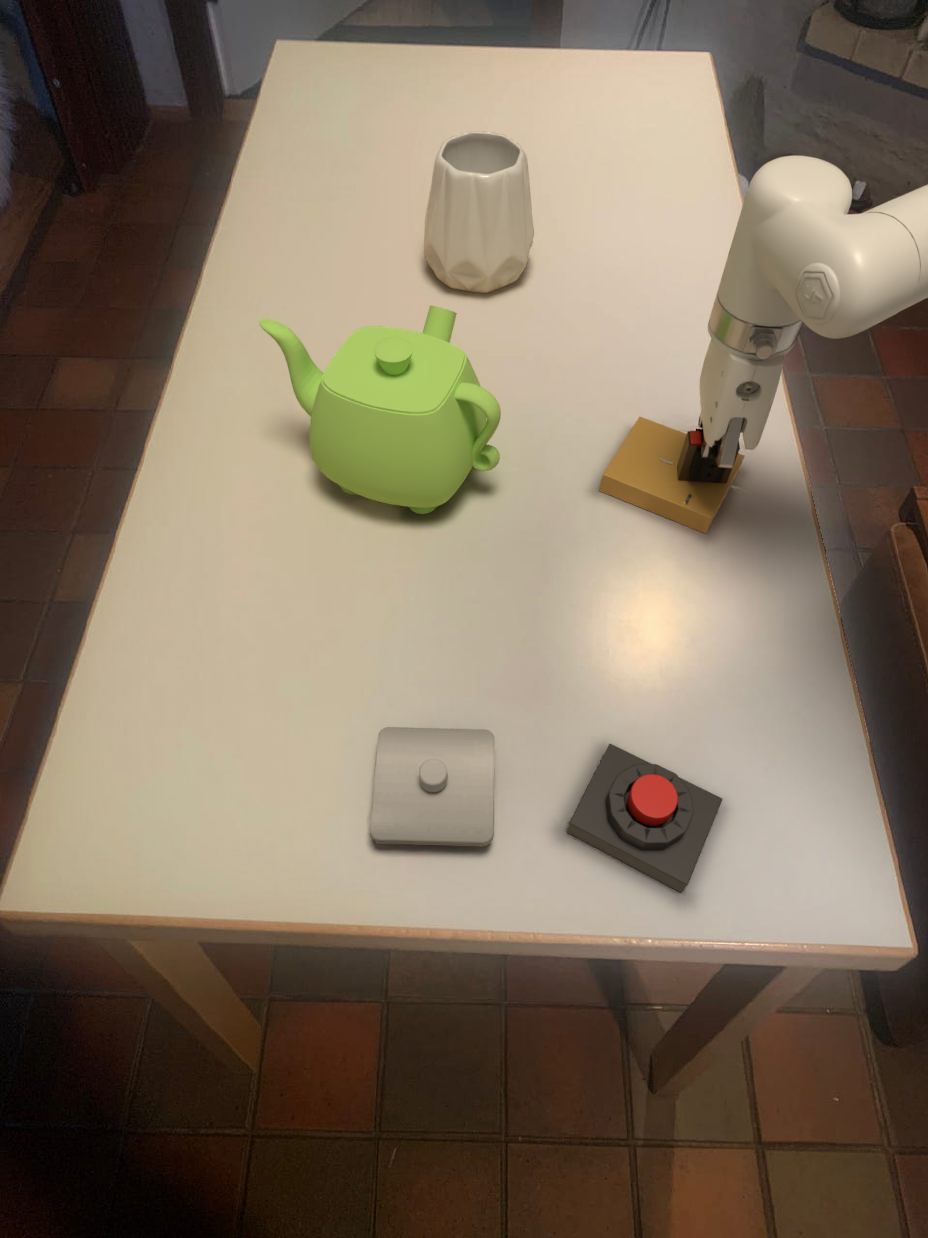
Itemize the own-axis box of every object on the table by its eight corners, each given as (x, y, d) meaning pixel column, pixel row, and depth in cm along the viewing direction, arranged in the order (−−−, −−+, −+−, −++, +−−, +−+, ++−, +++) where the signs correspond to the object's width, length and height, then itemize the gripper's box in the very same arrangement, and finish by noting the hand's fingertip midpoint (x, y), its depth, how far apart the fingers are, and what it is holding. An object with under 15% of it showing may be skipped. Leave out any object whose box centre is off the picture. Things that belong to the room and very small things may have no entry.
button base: (716, 808, 70) (729, 789, 67) (681, 893, 66) (693, 878, 63) (605, 753, 73) (613, 733, 69) (566, 832, 69) (571, 814, 65)
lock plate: (752, 477, 91) (759, 459, 88) (720, 540, 86) (727, 523, 83) (635, 432, 94) (639, 414, 92) (599, 490, 89) (602, 473, 87)
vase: (492, 226, 116) (497, 110, 104) (552, 279, 110) (565, 162, 97) (405, 258, 112) (398, 141, 99) (462, 315, 105) (463, 197, 93)
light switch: (371, 851, 68) (365, 829, 63) (380, 740, 73) (376, 713, 69) (493, 854, 68) (495, 833, 63) (493, 742, 73) (495, 716, 69)
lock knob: (724, 469, 88) (739, 432, 83) (726, 483, 87) (740, 446, 82) (676, 466, 88) (688, 428, 84) (677, 480, 87) (689, 443, 82)
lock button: (680, 795, 67) (684, 787, 65) (663, 834, 65) (667, 826, 63) (637, 774, 68) (641, 766, 66) (620, 812, 66) (623, 804, 64)
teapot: (535, 410, 96) (547, 287, 83) (472, 549, 85) (474, 433, 72) (335, 359, 101) (317, 236, 87) (250, 485, 89) (215, 365, 76)
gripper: (814, 384, 67) (747, 532, 82) (789, 264, 75) (733, 418, 91) (719, 377, 67) (670, 526, 82) (705, 259, 76) (663, 413, 91)
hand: (703, 468), depth 86 cm, fingers closed on lock knob, 2 cm apart
